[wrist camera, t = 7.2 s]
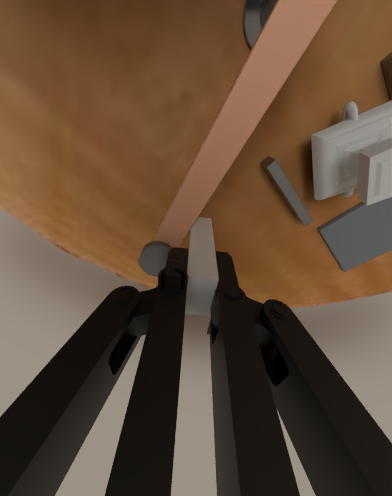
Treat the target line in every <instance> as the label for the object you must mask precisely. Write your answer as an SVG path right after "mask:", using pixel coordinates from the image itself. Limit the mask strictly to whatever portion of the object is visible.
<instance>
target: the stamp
mask: <svg viewBox="0 0 392 496" xmlns="http://www.w3.org/2000/svg"><path fill="white" fill-rule="evenodd" d="M311 141H312V161H313V181H314V199H316V200H323V199H326V198H329V197H332V196H335V195H338V194H340V193H342V196H344V197H345V198H348V197H349V196H351V195H352V194H353V190H354V189H355V188H357V193H358V199H359V200H361V201H362V202H363V203H364V204H365V205H366V206H368V205H370V204H373V203H376V202H379V201H381V200H384V199H387V198H390V197H392V100H391V101H389V102H387V103H384V104H382V105H380V106H377V107H375V108H373V109H370V110H368V111H366V112H363V113H361V114H359V115H358V108H357V106H356V104H355V102H354V101H351V102H348V103H346V104H345V106H344V108H343V112H342V118H341V122H340V123H338V124H335V125H333V126H331V127H328V128H326V129H324V130H321V131H319V132H317V133H314V134H312V135H311Z"/></svg>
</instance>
